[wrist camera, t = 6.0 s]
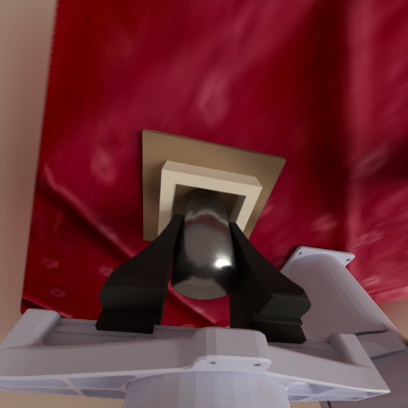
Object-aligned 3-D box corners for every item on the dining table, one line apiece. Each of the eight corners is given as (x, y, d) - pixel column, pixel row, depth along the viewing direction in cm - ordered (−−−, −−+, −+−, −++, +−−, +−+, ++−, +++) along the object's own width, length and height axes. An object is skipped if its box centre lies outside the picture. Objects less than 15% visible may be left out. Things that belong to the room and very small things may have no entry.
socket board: (240, 247, 21) (245, 266, 19) (145, 234, 20) (137, 253, 17) (282, 156, 15) (297, 168, 12) (145, 128, 13) (133, 135, 11)
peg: (216, 224, 18) (225, 303, 11) (180, 216, 17) (165, 294, 10) (230, 193, 15) (251, 266, 9) (189, 182, 15) (177, 252, 8)
